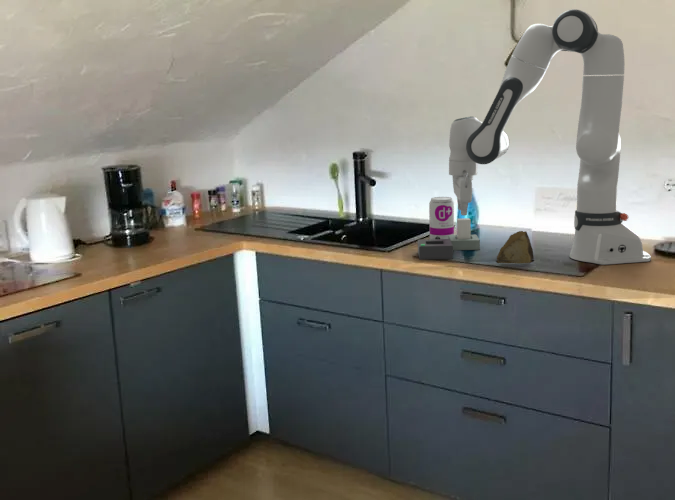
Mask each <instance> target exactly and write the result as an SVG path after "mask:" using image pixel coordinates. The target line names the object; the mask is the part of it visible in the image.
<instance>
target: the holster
mask: <svg viewBox="0 0 675 500" xmlns="http://www.w3.org/2000/svg"><path fill="white" fill-rule="evenodd" d="M448 239H450V240H451V243H452V245H453V251H480V249H481V247H480V246H481V242H480V241H481V239H480V238H479V237H478V235H477V234H471V239H457V234H454V235H448Z"/></svg>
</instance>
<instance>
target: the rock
mask: <svg viewBox="0 0 675 500" xmlns="http://www.w3.org/2000/svg"><path fill="white" fill-rule="evenodd" d="M533 250H534V249H533V247H532V243H531V239H530V237H529V235H528V232H527V231H523V230H519V231H517V232H514V233H512V234H510V236H509V238H508V239H507V240H506V241H505V243H504V244H503V245H502V246H501V248H500V249H499V253H498V254H497V256H496V259H497V260H496V263H497V264H530V263H533V262H535V260H534V257H535V255H534V252H533Z"/></svg>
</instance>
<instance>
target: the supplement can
mask: <svg viewBox="0 0 675 500" xmlns="http://www.w3.org/2000/svg"><path fill="white" fill-rule="evenodd" d="M428 207H429V209H428V213H429V239H448V235H455V202H454V199H453V198H452V197H451V196H433V197H431V198H430V201H429V204H428Z"/></svg>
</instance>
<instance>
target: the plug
mask: <svg viewBox="0 0 675 500" xmlns="http://www.w3.org/2000/svg"><path fill="white" fill-rule="evenodd" d="M471 222H472V221H471V219H470V217H469V218H468V217H467V218H463V217H461V218H457V219H456V235H457V239H471V235H472V232H471V228H472V227H471V224H472V223H471Z"/></svg>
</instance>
